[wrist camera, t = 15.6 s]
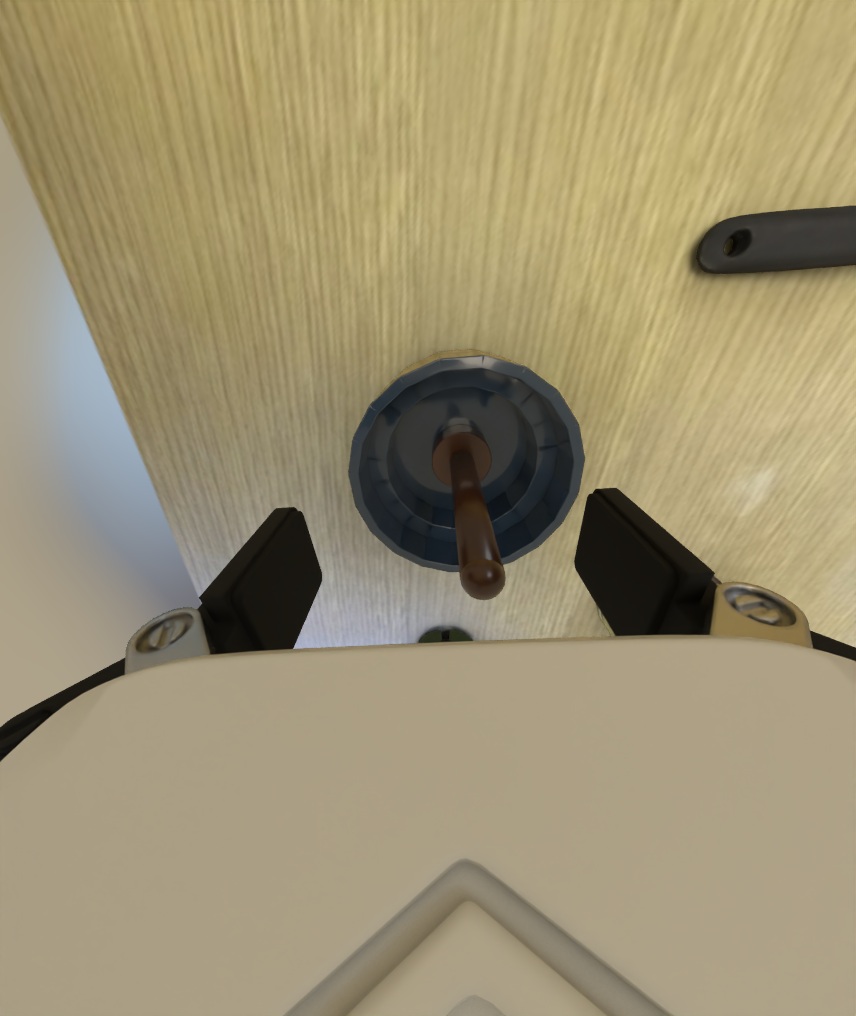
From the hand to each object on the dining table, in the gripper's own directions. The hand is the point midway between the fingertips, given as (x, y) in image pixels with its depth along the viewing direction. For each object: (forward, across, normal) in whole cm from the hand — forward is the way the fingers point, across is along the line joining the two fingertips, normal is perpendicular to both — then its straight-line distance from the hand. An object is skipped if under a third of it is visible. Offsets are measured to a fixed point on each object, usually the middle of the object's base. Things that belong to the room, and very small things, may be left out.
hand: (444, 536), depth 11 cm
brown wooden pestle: (+13, -2, +2) cm, 13 cm away
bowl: (+14, -2, +2) cm, 14 cm away
